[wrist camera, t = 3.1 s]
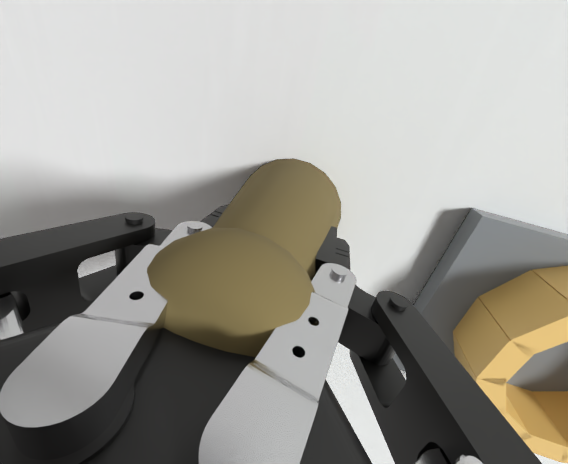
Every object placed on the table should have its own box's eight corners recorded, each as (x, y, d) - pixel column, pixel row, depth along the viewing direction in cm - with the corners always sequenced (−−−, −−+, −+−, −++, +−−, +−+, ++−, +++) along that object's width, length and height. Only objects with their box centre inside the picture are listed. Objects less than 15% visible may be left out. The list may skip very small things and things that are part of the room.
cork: (332, 262, 16) (315, 490, 6) (240, 247, 17) (103, 424, 7) (350, 164, 14) (366, 294, 4) (240, 152, 15) (30, 231, 5)
